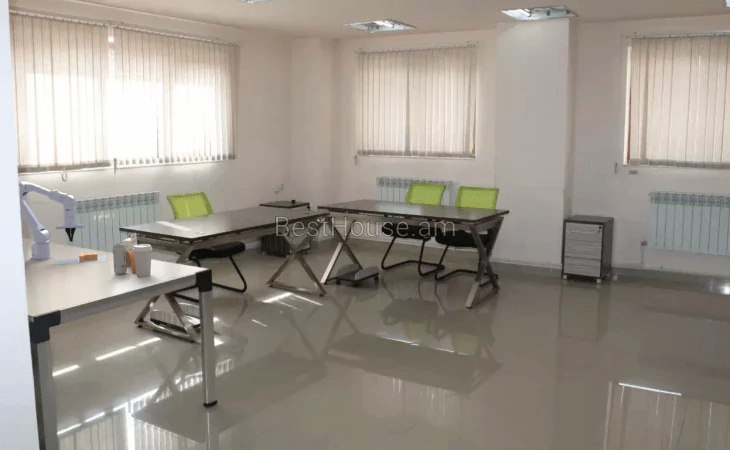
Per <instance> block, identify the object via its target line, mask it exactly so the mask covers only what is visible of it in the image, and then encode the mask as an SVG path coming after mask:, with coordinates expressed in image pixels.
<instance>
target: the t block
mask: <svg viewBox="0 0 730 450" xmlns="http://www.w3.org/2000/svg"><path fill="white" fill-rule="evenodd" d="M78 255H79V256H78V257H79V262H84V261H85V260H98V256H99V255H98V252H93V253H92V252H91V253H85V252H79V254H78Z"/></svg>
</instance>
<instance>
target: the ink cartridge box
mask: <svg viewBox="0 0 730 450" xmlns="http://www.w3.org/2000/svg"><path fill="white" fill-rule="evenodd" d="M122 243H123V244H124V245H125V247H126V251H130V250H132V249H133V247H134V246H135V245H138V237H137V233H136V232H134V233H132V234H130V237H128V238H125V239H123V240H122Z"/></svg>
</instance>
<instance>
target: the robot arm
mask: <svg viewBox="0 0 730 450" xmlns="http://www.w3.org/2000/svg"><path fill="white" fill-rule="evenodd" d="M18 182H19V187H20V203H21V213H20V214H21V216H22V217H23V219H24V220H25V222H26V223H27V225H28V226H29V228H30V231H31V235H32V238H33V241H34V242H33V243H32V244H31V247H30V248H31V251H30V252H31V259H35V260H41V261H42V260H43V261H44V260H48V259H51V258H53V259H54V256H51V242H50V239H51V231H49V230H48V229H47V228H46V227H45V226H44V225H42V224H41V223H40V221H39V220H38V218H37V217H36V215H35V214H34V212H33V211H32V209H31V208H30V206H29V205H28V202H27V201H26V200H25V199H26V196H27V195H28V193H31V192H34V193H38V194H40V195H43V196H46V197H48V199H49V200H51V201H53V202H57V203H60V204H62V205H63V219H64V223H63V224H58V225H55V230H64V231H65V233H66V235H67V236H68V239H69V242H72V243H73V242H74V236H75V232H76V230H77V229H85V227H86V224H84V223H83V224H82V223H80V224H78V223H76V221H77V220H76V205H75V204H76V201H77V200H76V197H75V196H74V195H72V194H68V193H64V192H61V191H60V190H59V189H52V190H49V189H47V188H45V187H43V186H41V185H37V184H35V183H34V182H29V181H27V180H22V181H18Z"/></svg>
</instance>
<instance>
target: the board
mask: <svg viewBox="0 0 730 450" xmlns="http://www.w3.org/2000/svg"><path fill="white" fill-rule="evenodd" d="M97 256H98V260H85V261H84V262H79V256H77V257H75V256H74V257H73V256H72V257H60V258H57V257H55V259H54V262H53V263H52V266H60V265H62V266H63V265H74V264H75V265H76V264H90V263H91V264H94V263H106V262H107V255H97Z"/></svg>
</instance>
